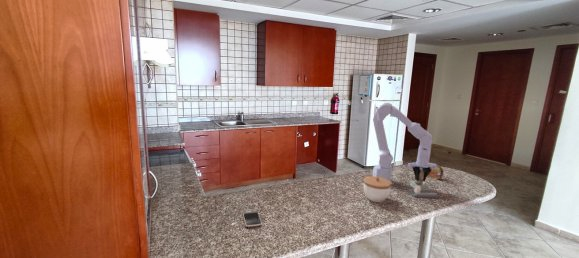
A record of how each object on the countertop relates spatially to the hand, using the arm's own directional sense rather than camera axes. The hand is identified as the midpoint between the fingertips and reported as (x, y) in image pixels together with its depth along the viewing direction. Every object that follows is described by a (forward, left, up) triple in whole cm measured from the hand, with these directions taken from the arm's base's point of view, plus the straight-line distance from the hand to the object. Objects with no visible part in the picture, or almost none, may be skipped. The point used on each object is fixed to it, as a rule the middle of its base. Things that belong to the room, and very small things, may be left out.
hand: (419, 180), depth 143 cm
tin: (+16, +18, -5) cm, 25 cm away
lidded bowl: (-28, -14, -5) cm, 31 cm away
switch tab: (-5, -9, -3) cm, 11 cm away
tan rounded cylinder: (0, 0, -3) cm, 3 cm away
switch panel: (-2, -8, -5) cm, 9 cm away
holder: (0, 0, -5) cm, 5 cm away
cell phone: (-85, -36, -5) cm, 92 cm away
